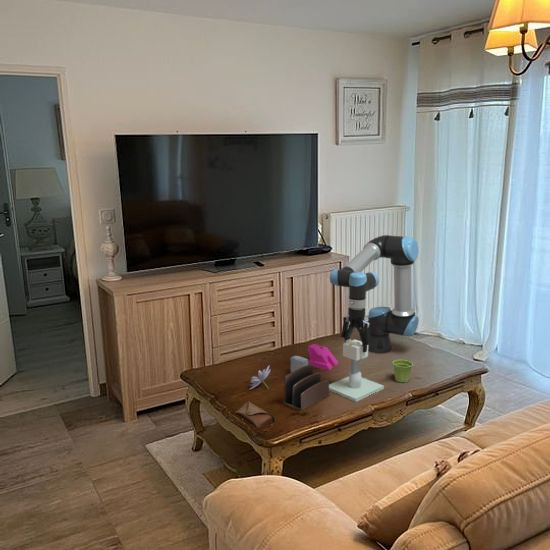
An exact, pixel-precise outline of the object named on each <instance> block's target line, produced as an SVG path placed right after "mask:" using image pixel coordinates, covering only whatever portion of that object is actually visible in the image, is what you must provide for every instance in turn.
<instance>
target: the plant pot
mask: <svg viewBox="0 0 550 550" xmlns="http://www.w3.org/2000/svg"><path fill="white" fill-rule="evenodd" d="M392 365H393V368H394V381H396V382H397V383H407V382H409V379H410V374H411V370H412V368H413V366H414V364H413V362H412V361H409V360H405V359H395V360H393V361H392Z"/></svg>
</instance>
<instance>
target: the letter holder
mask: <svg viewBox="0 0 550 550" xmlns="http://www.w3.org/2000/svg"><path fill="white" fill-rule="evenodd" d="M314 368H315V367H314V365H313V364H309V365H306V366H303V367H301V368H299V369H297V370H295V371H293V372H291V371H290V373H288V374H287V375H286V376H285V377H284V381H283V382H284V383H283V384H284V385H283V386H284V387H283V389H284V390H283V391H284V392H283V404H284V405H285V406H287V405H288V406H287V407H290V408H292V407H293V409H294V410H297V409H298V411H300V412H302V411H304V410H305V408H306V409H307V407H308V408H310V407H311V406H313V405H315V404H317V403H318V402H320V401H322V400H324V399H326V398H328V397H329V396H330V391H329V385H330V382H329V380H328V379H326V380H322V373H321V372H315V371H314ZM309 406H310V407H309Z"/></svg>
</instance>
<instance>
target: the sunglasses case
mask: <svg viewBox="0 0 550 550" xmlns="http://www.w3.org/2000/svg"><path fill="white" fill-rule="evenodd" d="M234 414H236V415H239V416H240V417H242V418H243V419H244V420H245V419H246V420H247V421H248V422H250V423H251V424H253V425H254V426H255V427H256V428H258V429H260V428H262V427H264V426H263V425H265V426H266V424H268V425H270V424H272V422H274V423H275V417H274V416H273V415H272V414H270V413H269V412H267V411H266V410H264V409H262V408H261V407H259V406H257V404H256V405H255V404H254V403H252V402H250V401H249V400H247V402H245V403H244V404H243V405H242V406H241V407H240V408H239V409H238V410H237V411H234ZM269 423H270V424H269ZM261 426H262V427H261ZM259 427H260V428H259Z"/></svg>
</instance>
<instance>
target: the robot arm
mask: <svg viewBox="0 0 550 550" xmlns="http://www.w3.org/2000/svg"><path fill="white" fill-rule="evenodd" d="M418 256H419V245H418V241H417V240H416V239H415V238H414V237H410V236H409V237H408V236H399V235H398V236H397V235H389V234H384V235H380V236H377V237H374V238H373V239H371V240H370V241H368V242H366V243H365V244H364V246H363V247H362V250H360V252H358V254H356V255H355V256H354V257H353V258H352V259H351V260H350V261H349V262H347V263H346V264H345V265H344V266H343V267H342V268H341V269H332V270H331V271H330V274H329V281H330V284H331V285H333V286H336V287H344V288H348V314H347V315H346V316H344V317H343V318H342V319H343V323H342V328H341V334H340V335H341V336H340V337H341V338H343V339H344V343H346V342H349V341H352V339H351V336H352V333H353V331H354V329H355V328H356V330H357V331H358V335H359V337H360V341H361V342H362V345H361V356H360V360H364V359H365V358H367V357H366V352H367V345H368V353H369V352H370V353H373V352H375V353H374V354H386V352H387V353H390V352H392V351H393V344H392V341H391V337H390V334H392V335H398V336H403V337H413V336H414V335H415V334H416V331H417V330H418V326H419V316H418V315H416V314H415V309H413V308H412V266H413V264H415V262H416V260H417V259H418V258H419V257H418ZM381 258H385V259H390V264H391V265H392V266H393V292H394V297H393V298H394V308H393V309H392V308H391V307H389V306H376V307H372V308H370V309H369V310H368V316H367V319H368V321H366V320H365V317H366V304H367V302H366V299H367V292H368V291H371V290H373V289H375V288H376V287H377V286H378V285H379V282H380V278H379V276H378V274H376V272H372V271H370V272H363V271H364V270H365V269H366V268H367V267H368V266H369V265H370V264H371V263H372V262H373V261H377V260H378V259H381ZM391 309H392V310H391ZM391 350H392V351H391Z"/></svg>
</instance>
